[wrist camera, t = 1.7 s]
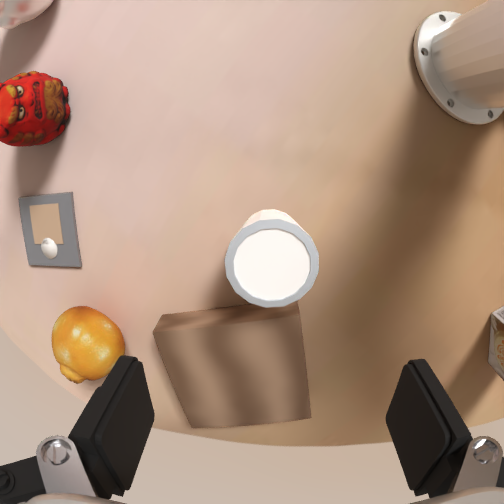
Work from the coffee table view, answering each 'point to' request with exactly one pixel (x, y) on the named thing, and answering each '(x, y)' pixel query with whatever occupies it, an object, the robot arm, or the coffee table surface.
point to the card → (50, 230)
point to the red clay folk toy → (32, 109)
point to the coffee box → (497, 342)
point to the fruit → (86, 344)
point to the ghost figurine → (20, 11)
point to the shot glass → (271, 260)
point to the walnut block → (236, 364)
